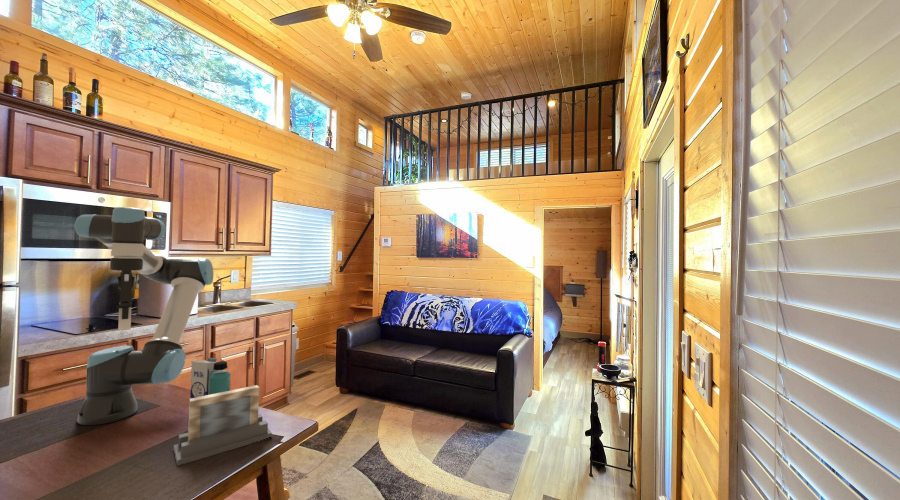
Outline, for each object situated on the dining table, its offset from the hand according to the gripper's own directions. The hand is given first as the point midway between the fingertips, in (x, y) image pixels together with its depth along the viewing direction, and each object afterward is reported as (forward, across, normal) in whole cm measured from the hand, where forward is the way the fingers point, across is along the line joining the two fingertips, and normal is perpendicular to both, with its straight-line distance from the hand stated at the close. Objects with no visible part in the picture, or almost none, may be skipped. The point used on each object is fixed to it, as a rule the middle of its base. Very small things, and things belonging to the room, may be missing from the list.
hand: (124, 326), depth 111 cm
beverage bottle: (+35, +4, +25) cm, 43 cm away
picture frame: (+33, +23, +24) cm, 47 cm away
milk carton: (+35, -3, +23) cm, 42 cm away
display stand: (+35, +23, +24) cm, 48 cm away
